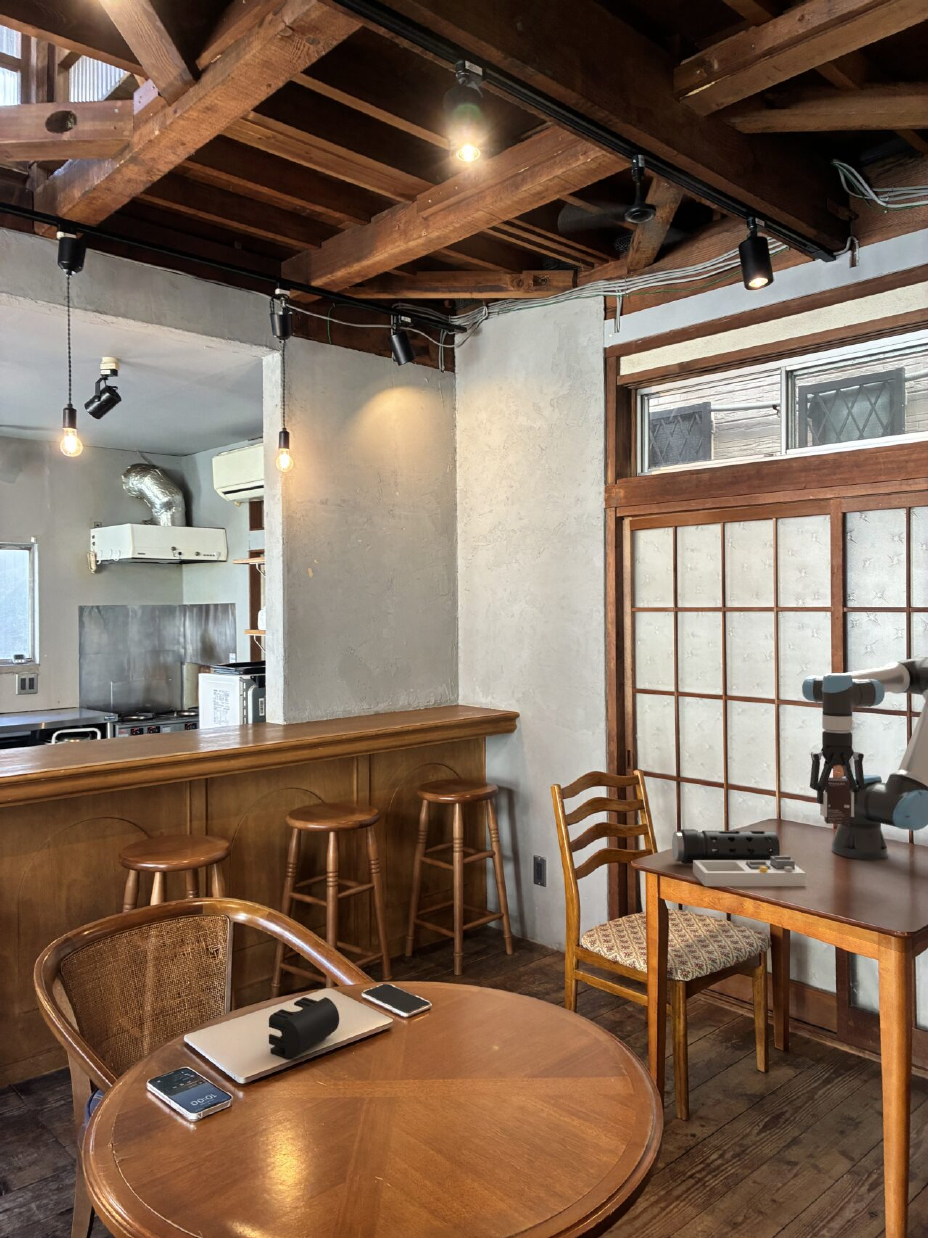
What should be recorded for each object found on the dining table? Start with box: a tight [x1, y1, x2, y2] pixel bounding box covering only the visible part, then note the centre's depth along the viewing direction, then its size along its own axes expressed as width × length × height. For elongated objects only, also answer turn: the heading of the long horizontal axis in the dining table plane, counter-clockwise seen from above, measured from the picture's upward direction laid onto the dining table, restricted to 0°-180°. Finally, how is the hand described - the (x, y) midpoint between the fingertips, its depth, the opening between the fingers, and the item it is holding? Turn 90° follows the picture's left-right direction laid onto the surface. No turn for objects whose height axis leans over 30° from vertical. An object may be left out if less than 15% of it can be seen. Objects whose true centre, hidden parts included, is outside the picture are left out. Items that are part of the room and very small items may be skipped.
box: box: [823, 776, 850, 825], centre depth 243 cm, size 6×4×12 cm
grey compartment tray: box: [692, 860, 807, 887], centre depth 241 cm, size 26×12×4 cm, turn 90°
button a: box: [770, 855, 796, 869], centre depth 241 cm, size 5×5×4 cm
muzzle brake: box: [671, 828, 781, 865], centre depth 253 cm, size 10×28×10 cm, turn 89°
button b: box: [746, 861, 770, 869], centre depth 241 cm, size 5×5×4 cm
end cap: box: [268, 996, 340, 1061], centre depth 148 cm, size 10×7×7 cm
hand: (837, 815), depth 243 cm, fingers closed on box, 7 cm apart
